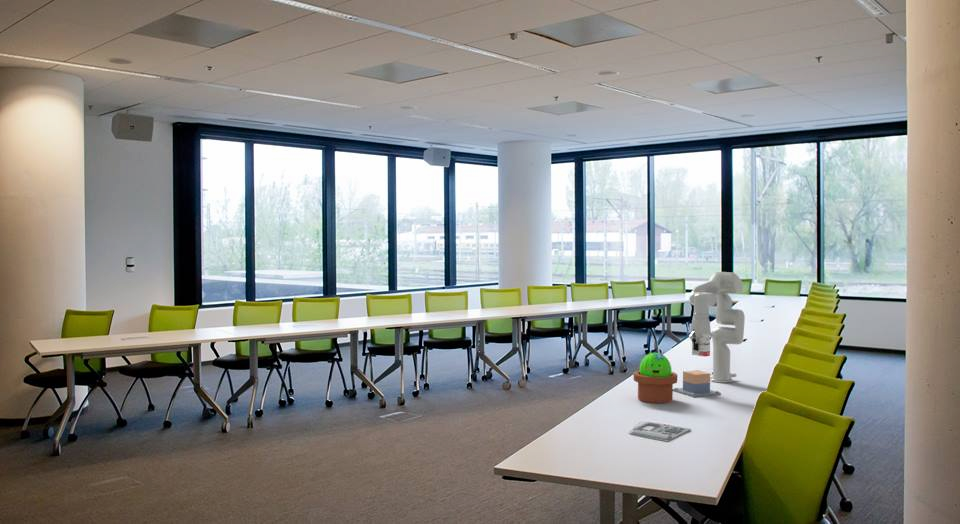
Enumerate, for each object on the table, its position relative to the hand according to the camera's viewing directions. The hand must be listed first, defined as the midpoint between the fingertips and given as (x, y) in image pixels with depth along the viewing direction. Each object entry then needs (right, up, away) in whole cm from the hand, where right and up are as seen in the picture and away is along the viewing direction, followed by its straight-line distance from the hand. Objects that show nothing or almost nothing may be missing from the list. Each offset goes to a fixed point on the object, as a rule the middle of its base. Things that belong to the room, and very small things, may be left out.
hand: (700, 349), depth 393 cm
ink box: (0, -3, 0) cm, 3 cm away
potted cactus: (-28, -24, -16) cm, 40 cm away
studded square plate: (-2, -23, +2) cm, 24 cm away
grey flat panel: (-42, -27, -79) cm, 94 cm away
